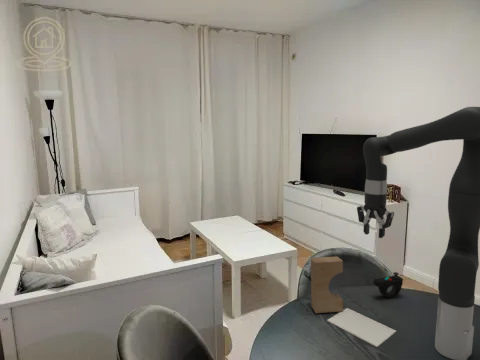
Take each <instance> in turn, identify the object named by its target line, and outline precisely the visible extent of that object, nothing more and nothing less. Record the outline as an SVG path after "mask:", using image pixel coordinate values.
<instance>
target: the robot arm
mask: <svg viewBox="0 0 480 360" xmlns="http://www.w3.org/2000/svg"><path fill="white" fill-rule="evenodd" d="M455 140H459V141H460V140H461V141H463V142H462V144H463V145H462V153H461V156H460V160H459V162H458V165H457V166H456V169H455V171H454V172H453V175H452V177H451V180H450V183H449V188H448V198H447V210H448V211H447V212H448V218H449V235H448V236H449V237H448V242H447V247H446V250H445V252H444V254H443V256H442V258H441V259H440V263H439V269H438V283H437V284H438V286H437V287H438V288H437V289H438V298H437V299H438V300H437V314H436V324H435V325H436V327H435V336H434V337H435V339H434V349H435V350H436V351H437V352H438V353H439V354H440V355H441V356H443V357H446V358H448V359H451V360H468V359H469V357H471V355H472V354H473V352H472V351H473V344H474V332H475V331H474V330H475V325H473V318H474V309H475V299H476V298H475V297H476V295H475V293H476V292H475V291H476V284H477V283H476V281H477V273H478V269H479V265H480V262H479V233H480V106H466V107H464V108H461V109H459V110H457V111H454V112H452V113H450V114H448V115H446V116H444V117H441V118H439V119H436V120H434V121H431V122H428V123H424V124H420V125H416V126H412V127H408V128H405V129H402V130H401V129H400V130H398V131H395V132H392V133H391V134H389V135H385V136H377V137H376V136H375V137H374V136H373V137H369V138H367V139H366V140H365V142H364V143H363V147H362V154H363V159H364V165H365V167H366V171H365V173H366V174H365V176H366V177H365V184H364V205H359V206H356V212H357V217H358V218H357V219H358V223H362V224H363V233H364V235H369V234H370V226H371V225H370V222H371V220H372V219H374V220H376V223H377V224H378V227H379V228H378V238H379V239H383V238H384V237H385V235H386V229H388V228H390V227H391V226H392V223H393V219H394V216H395V212H394V211H389V210H387V197H388V196H387V195H388V194H387V193H388V182H387V179H388V167H387V166H388V165H386V164H385V163H383V162H382V159H381V157H384V156H389V155H393V154H396V153H401V152H405V151H411V150H414V149H419V148H422V147H424V146H427V145H430V144H434V143H438V142H443V141H444V142H445V141H455ZM385 217H386V218H385Z"/></svg>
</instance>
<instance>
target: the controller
mask: <svg viewBox="0 0 480 360" xmlns="http://www.w3.org/2000/svg"><path fill="white" fill-rule="evenodd" d="M392 273H393V275H391V276H386V277H379V278H375V279H374V280H373V282H372V283H373V285H374V286H376V287H378V288H377V289H378V291H379V293H380V294H381V295H382V296H384V297H386V298H388V299H389V298H391V299H392V298H395V297H397V296H398V295H399V293H400V292H401V290H402V287H403V283H404V282H403V281H404V279H403V277H401V276H399V275H400V273H399V272H396V271H394V272H392ZM390 287H391V290H390V291H388V289H389V288H390Z"/></svg>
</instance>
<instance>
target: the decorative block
mask: <svg viewBox="0 0 480 360" xmlns="http://www.w3.org/2000/svg"><path fill="white" fill-rule="evenodd" d="M342 273H344V261H343V259H341V258H340V257H339V256H322V257H321V256H320V257H311V258H310V280H311V282H310V283H311V284H310V289H311V294H310V295H311V304H310V305H311V308H312V309H313V311H314V314H325V313H326V314H327V313H340V312H342V311H343V310H344V299H343V298H342V297H341V296H340V295H339V294H338V293H334V292H332V291H330V288H329V287H330V286H329V285H330V282H331V280H333V278H334V277H335V276H337V275H339V274H342Z"/></svg>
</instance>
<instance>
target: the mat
mask: <svg viewBox="0 0 480 360" xmlns="http://www.w3.org/2000/svg"><path fill="white" fill-rule="evenodd" d="M326 321H327V322H328V323H331V324H332V325H334V326H336V327H338V328H340V329H342V330H344V331H345V332H347V333H349V334H351V335H353V336H355V337H357V338H359V339H360V340H362V341H364V342H365V343H368V344H370V345H371V346H373V347H376V348H378V347H379V346H380V345H382V344H383V343H384V342H386V341H387V340H389V338H391V337H392V336H393V335H394V334H395V333H397V330H395V329H394V328H391V327H389V326H387V325H384V324H383V323H380V322H378V321H376V320H375V319H372V318H369V317H368V316H365V315H363V314H362V313H358V312H357V311H355V310H352V309H350V308H348V307H345V308H344V309H343V311H342V312H337V313H336V314H335V315H333V316H331V317H330V318H328V319H327V320H326Z"/></svg>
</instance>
